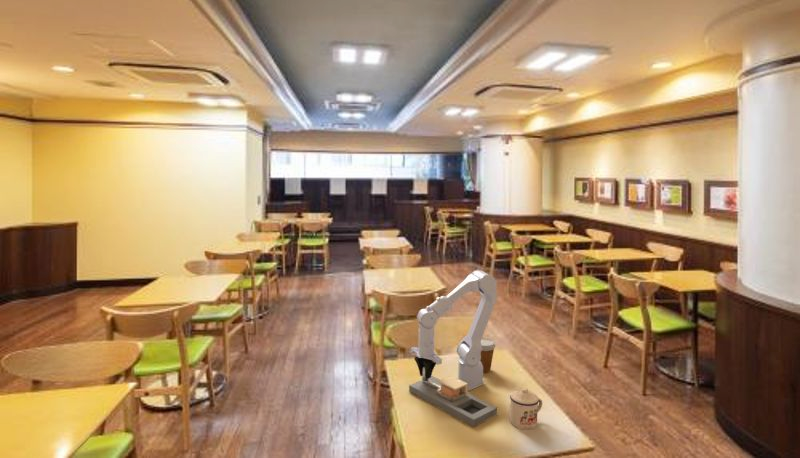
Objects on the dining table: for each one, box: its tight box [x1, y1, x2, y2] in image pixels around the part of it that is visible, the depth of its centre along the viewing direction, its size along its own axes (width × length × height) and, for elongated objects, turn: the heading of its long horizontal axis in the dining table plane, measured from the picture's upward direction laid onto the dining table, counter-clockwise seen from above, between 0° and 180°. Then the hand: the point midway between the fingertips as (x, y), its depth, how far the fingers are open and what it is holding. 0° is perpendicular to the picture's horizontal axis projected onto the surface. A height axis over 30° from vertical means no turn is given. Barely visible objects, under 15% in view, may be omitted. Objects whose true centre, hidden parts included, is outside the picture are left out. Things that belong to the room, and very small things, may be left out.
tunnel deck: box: [408, 375, 498, 428], centre depth 168 cm, size 31×12×7 cm, turn 41°
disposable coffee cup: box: [480, 337, 496, 374], centre depth 195 cm, size 10×10×12 cm
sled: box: [421, 366, 465, 402], centre depth 172 cm, size 18×6×6 cm, turn 41°
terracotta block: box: [441, 385, 460, 397], centre depth 168 cm, size 5×4×4 cm
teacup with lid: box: [509, 387, 543, 430], centre depth 156 cm, size 12×9×12 cm
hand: (425, 376), depth 178 cm, fingers closed on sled, 2 cm apart
